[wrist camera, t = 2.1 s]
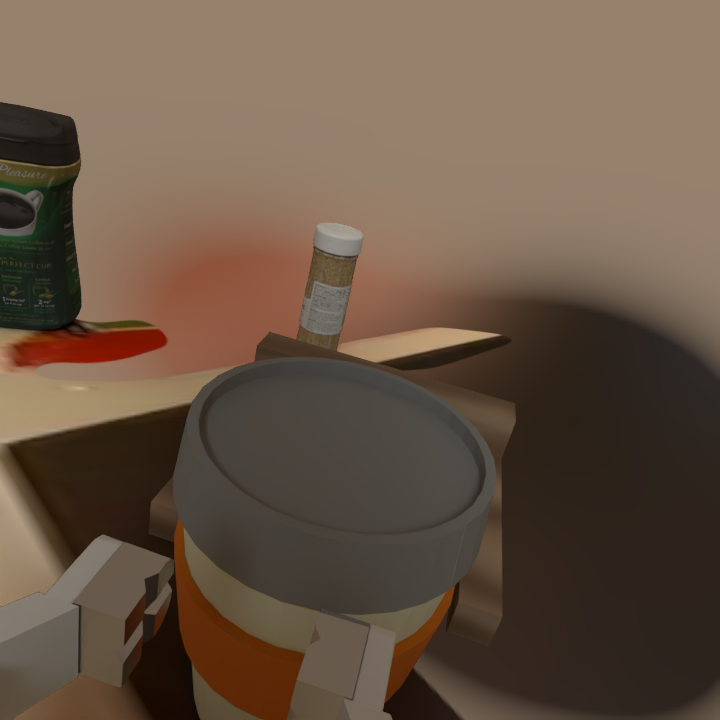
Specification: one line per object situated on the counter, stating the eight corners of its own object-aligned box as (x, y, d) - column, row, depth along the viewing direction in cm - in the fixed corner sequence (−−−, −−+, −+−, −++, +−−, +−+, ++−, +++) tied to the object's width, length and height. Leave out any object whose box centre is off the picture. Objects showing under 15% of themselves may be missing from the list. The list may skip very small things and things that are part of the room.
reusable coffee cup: (221, 553, 36) (254, 329, 30) (422, 620, 35) (504, 403, 28) (94, 759, 25) (103, 473, 18) (384, 870, 24) (504, 605, 17)
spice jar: (300, 340, 64) (323, 217, 58) (340, 352, 64) (368, 229, 58) (287, 357, 60) (310, 227, 54) (330, 370, 60) (359, 240, 54)
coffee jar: (87, 304, 61) (90, 111, 53) (69, 338, 55) (69, 124, 46) (-19, 291, 59) (-34, 87, 51) (-52, 326, 52) (-75, 97, 44)
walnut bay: (488, 646, 34) (523, 571, 32) (148, 533, 36) (154, 453, 34) (491, 462, 51) (514, 403, 49) (260, 392, 53) (269, 332, 51)
